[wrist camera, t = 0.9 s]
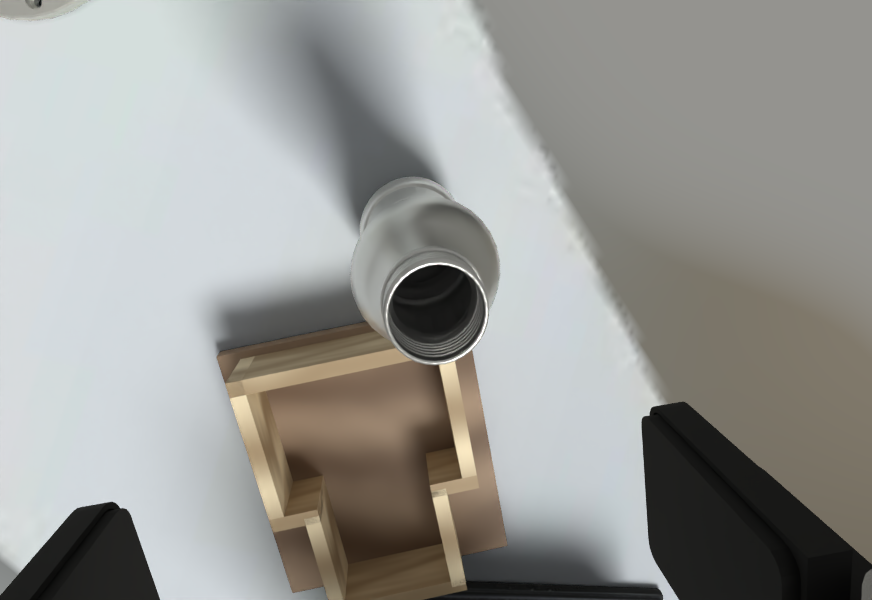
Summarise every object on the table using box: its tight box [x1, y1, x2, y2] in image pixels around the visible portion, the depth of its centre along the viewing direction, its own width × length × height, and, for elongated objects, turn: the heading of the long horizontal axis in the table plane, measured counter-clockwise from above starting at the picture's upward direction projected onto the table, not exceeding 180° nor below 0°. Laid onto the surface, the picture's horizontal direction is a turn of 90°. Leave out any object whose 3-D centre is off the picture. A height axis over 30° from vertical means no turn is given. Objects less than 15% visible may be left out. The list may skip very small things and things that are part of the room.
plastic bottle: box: [350, 176, 500, 365], centre depth 29 cm, size 6×7×20 cm
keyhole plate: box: [217, 321, 507, 600], centre depth 40 cm, size 20×17×5 cm
